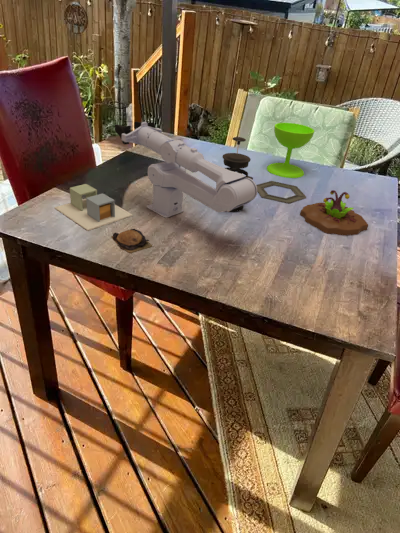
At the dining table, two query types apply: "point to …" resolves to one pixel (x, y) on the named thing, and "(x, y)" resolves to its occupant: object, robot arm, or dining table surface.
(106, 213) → the orange block
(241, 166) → the french press
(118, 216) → the mat
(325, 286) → the dining table surface
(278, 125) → the wineglass
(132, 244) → the wood slice
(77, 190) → the far cover
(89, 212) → the near cover
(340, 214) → the plant
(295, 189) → the hexagonal trivet
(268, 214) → the dining table surface
